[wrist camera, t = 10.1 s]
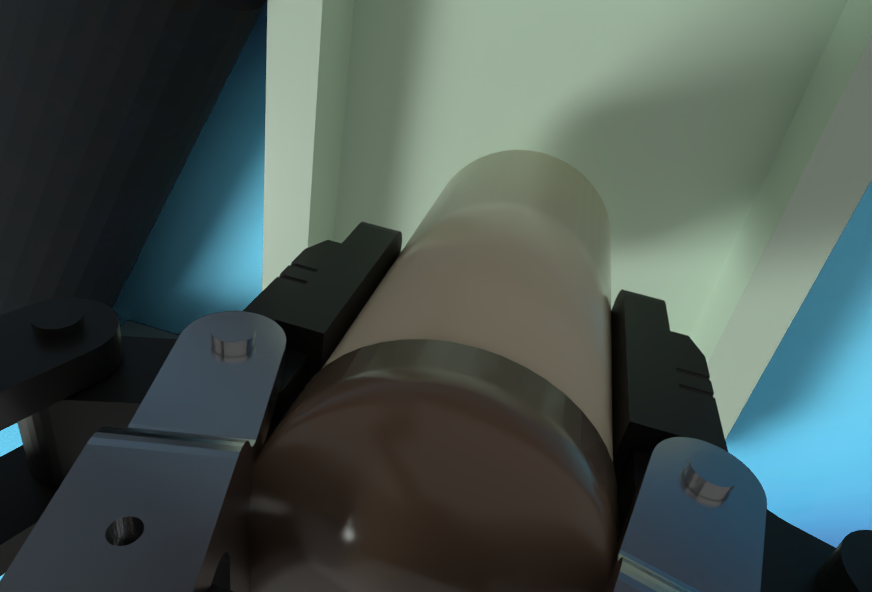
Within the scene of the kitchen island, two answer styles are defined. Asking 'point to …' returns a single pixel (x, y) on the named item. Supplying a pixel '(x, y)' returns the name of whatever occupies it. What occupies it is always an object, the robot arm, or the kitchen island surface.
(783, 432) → the kitchen island surface
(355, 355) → the cylinder
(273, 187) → the parts tray
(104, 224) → the pipe connector
